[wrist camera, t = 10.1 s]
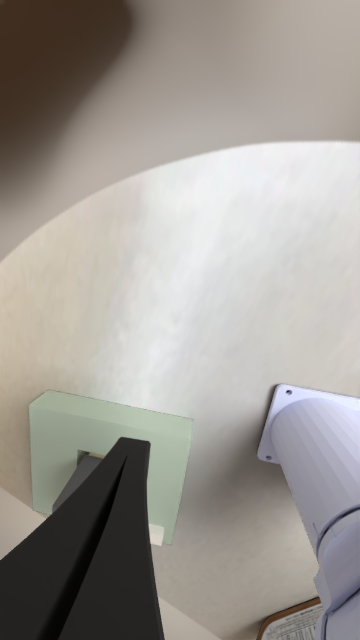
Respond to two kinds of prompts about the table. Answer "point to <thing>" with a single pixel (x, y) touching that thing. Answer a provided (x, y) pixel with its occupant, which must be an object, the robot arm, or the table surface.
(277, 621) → the tin
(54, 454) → the socket panel
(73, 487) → the plug
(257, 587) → the table surface
